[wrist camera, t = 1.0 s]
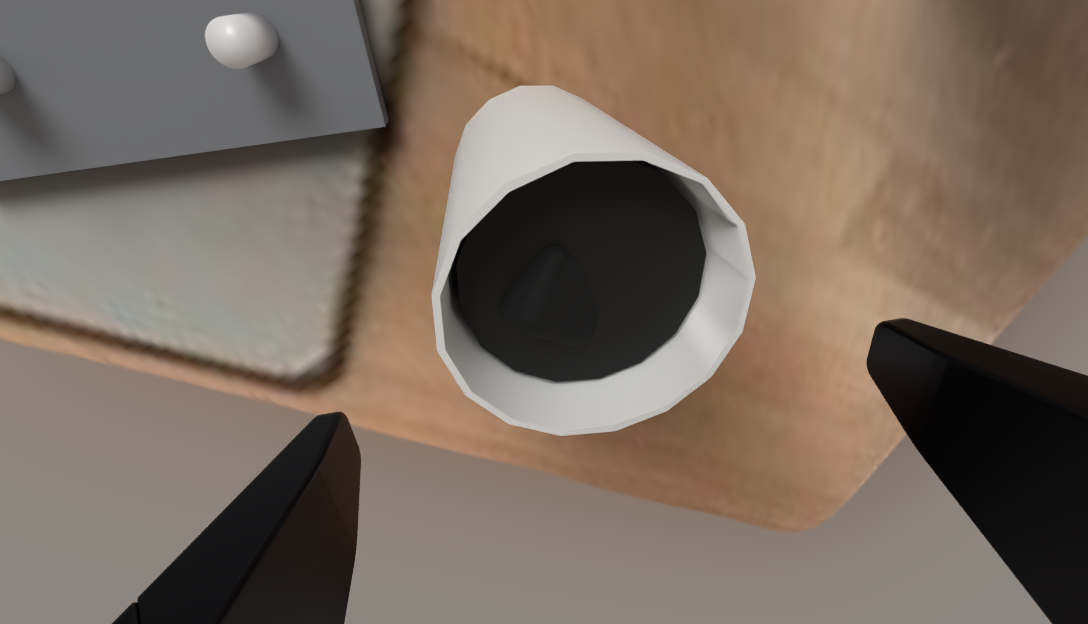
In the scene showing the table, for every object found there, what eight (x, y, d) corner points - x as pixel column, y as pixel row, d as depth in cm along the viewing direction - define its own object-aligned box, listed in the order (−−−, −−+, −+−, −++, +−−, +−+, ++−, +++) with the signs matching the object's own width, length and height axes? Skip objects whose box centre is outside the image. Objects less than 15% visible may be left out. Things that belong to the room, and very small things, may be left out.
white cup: (557, 283, 22) (621, 470, 14) (407, 198, 19) (370, 366, 11) (663, 142, 20) (820, 263, 11) (508, 24, 17) (560, 67, 9)
